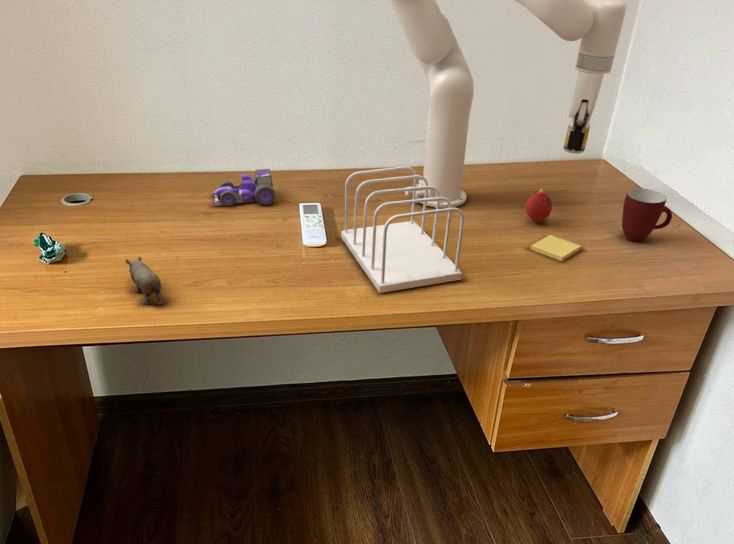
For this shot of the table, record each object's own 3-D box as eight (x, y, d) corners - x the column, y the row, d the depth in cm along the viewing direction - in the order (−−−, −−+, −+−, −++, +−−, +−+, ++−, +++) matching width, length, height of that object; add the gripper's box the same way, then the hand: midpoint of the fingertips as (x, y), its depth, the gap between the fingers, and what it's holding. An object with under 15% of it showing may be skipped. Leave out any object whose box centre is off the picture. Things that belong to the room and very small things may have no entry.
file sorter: (340, 238, 147) (341, 170, 138) (413, 228, 151) (418, 161, 142) (379, 294, 127) (382, 218, 118) (461, 281, 132) (471, 207, 122)
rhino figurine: (143, 273, 134) (138, 246, 130) (168, 303, 124) (163, 275, 121) (123, 278, 132) (117, 251, 128) (146, 309, 122) (141, 281, 119)
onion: (549, 219, 156) (556, 186, 151) (547, 229, 151) (554, 195, 147) (524, 215, 157) (530, 183, 153) (521, 225, 153) (527, 192, 148)
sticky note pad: (561, 261, 138) (562, 257, 138) (530, 249, 143) (530, 245, 142) (580, 250, 143) (581, 245, 142) (549, 238, 147) (549, 234, 147)
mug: (654, 229, 151) (667, 187, 145) (671, 245, 145) (685, 202, 139) (609, 230, 151) (620, 188, 145) (623, 246, 144) (635, 203, 138)
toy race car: (212, 194, 167) (210, 168, 163) (272, 190, 169) (271, 165, 165) (213, 209, 159) (210, 183, 156) (275, 205, 162) (274, 179, 158)
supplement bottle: (585, 149, 157) (594, 113, 152) (582, 155, 153) (591, 118, 149) (564, 146, 159) (572, 110, 154) (561, 151, 155) (569, 115, 150)
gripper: (579, 53, 152) (561, 133, 163) (573, 69, 139) (554, 154, 150) (613, 56, 150) (593, 137, 161) (611, 73, 137) (589, 159, 148)
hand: (574, 144), depth 155 cm, fingers closed on supplement bottle, 4 cm apart
